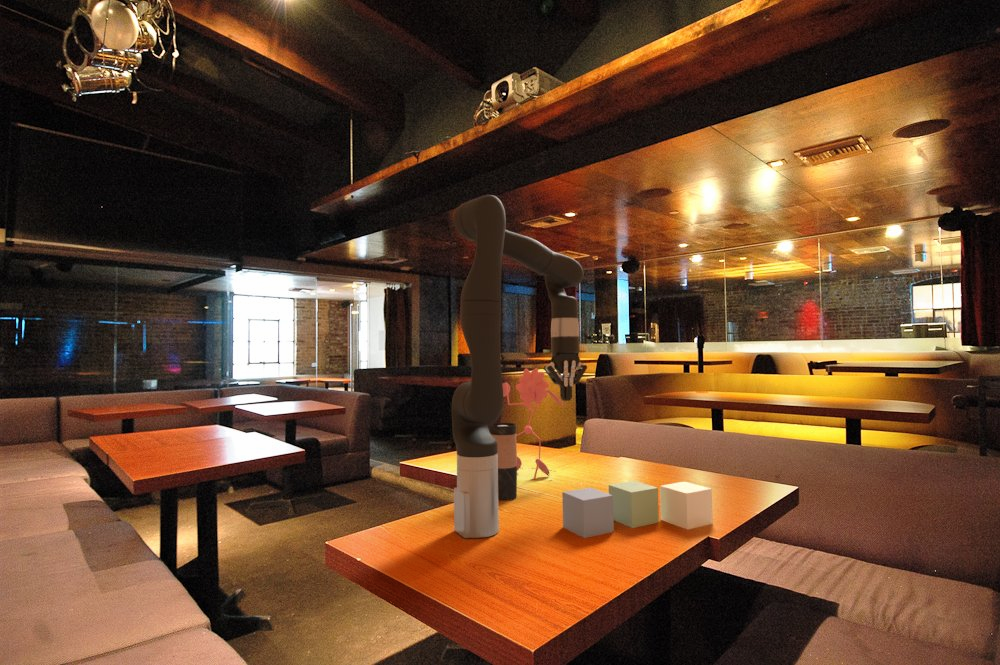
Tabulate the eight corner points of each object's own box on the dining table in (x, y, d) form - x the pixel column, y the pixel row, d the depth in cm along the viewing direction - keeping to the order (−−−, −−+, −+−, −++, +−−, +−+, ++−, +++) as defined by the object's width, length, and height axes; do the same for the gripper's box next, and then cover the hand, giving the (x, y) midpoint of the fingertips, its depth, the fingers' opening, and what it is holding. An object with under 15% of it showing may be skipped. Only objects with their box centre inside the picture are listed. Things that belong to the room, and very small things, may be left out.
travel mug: (521, 498, 140) (520, 425, 141) (495, 502, 137) (494, 427, 138) (511, 492, 147) (509, 422, 148) (486, 495, 145) (485, 423, 145)
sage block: (632, 528, 115) (631, 492, 116) (609, 518, 123) (608, 484, 123) (658, 522, 119) (657, 487, 120) (635, 513, 126) (634, 480, 127)
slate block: (584, 538, 110) (583, 500, 110) (563, 527, 117) (562, 492, 117) (613, 532, 113) (612, 495, 114) (591, 522, 120) (590, 487, 121)
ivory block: (687, 530, 114) (686, 493, 114) (661, 520, 121) (660, 485, 121) (712, 524, 118) (711, 488, 118) (685, 514, 125) (684, 481, 125)
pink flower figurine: (555, 483, 156) (554, 368, 159) (489, 473, 172) (489, 368, 174) (580, 475, 168) (578, 368, 171) (516, 466, 184) (516, 368, 186)
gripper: (551, 334, 131) (553, 403, 130) (593, 335, 137) (595, 400, 136) (536, 336, 138) (537, 400, 137) (577, 336, 144) (578, 398, 143)
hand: (566, 400), depth 137 cm, fingers closed
